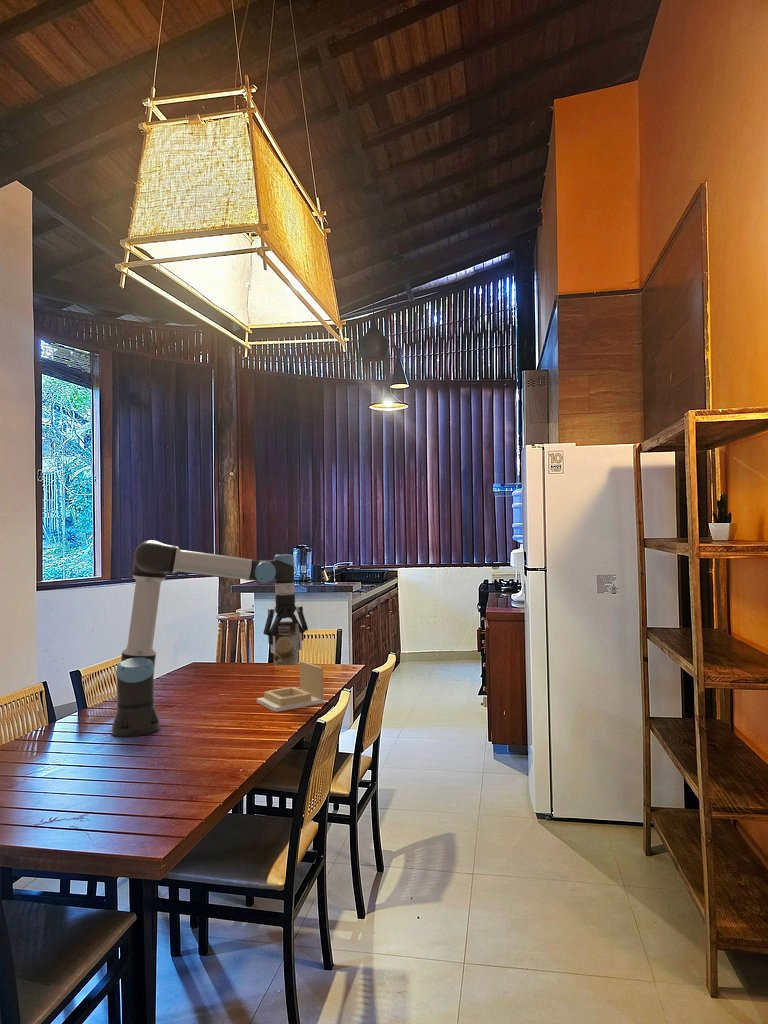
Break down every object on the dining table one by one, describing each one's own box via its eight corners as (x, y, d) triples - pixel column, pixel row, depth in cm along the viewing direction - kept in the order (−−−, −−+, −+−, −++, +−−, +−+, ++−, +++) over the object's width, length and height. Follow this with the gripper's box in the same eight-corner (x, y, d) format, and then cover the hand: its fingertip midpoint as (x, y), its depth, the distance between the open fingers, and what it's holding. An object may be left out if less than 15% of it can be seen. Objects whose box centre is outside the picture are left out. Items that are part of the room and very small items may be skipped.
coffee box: (272, 665, 249) (271, 623, 249) (277, 662, 255) (276, 621, 256) (296, 665, 248) (295, 623, 248) (300, 662, 254) (299, 620, 255)
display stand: (275, 712, 238) (274, 675, 239) (256, 702, 253) (255, 667, 254) (323, 703, 249) (322, 667, 250) (303, 694, 264) (302, 660, 265)
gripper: (261, 596, 243) (262, 656, 242) (315, 592, 255) (317, 648, 255) (253, 595, 249) (254, 653, 248) (307, 591, 262) (308, 646, 261)
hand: (286, 651), depth 251 cm, fingers closed on coffee box, 10 cm apart
